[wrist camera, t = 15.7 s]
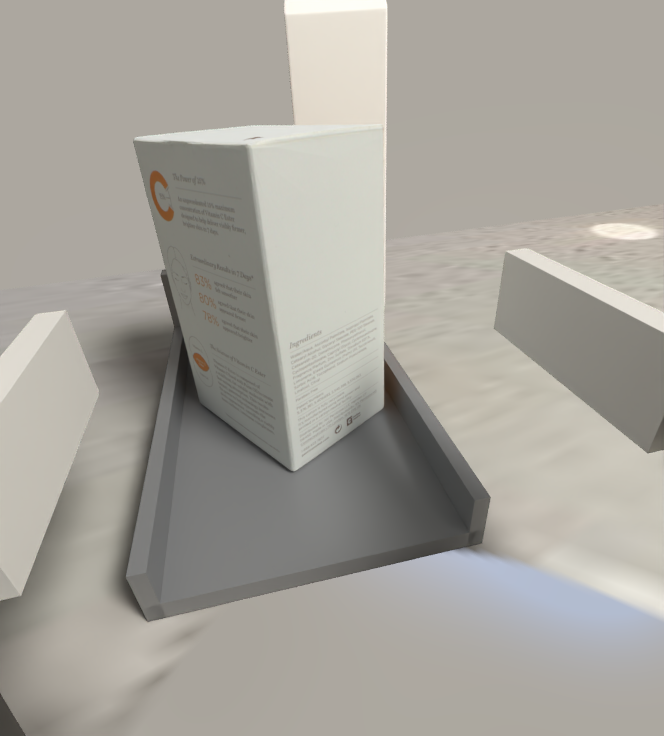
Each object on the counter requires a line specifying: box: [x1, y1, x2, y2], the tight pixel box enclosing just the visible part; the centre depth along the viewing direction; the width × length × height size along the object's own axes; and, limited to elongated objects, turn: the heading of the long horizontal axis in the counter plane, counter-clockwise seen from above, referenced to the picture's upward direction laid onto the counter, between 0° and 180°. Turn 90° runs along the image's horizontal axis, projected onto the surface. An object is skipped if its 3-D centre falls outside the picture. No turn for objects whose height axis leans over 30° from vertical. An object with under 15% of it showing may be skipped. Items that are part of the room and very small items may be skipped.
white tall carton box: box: [284, 0, 387, 308], centre depth 32 cm, size 6×6×22 cm
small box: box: [133, 124, 384, 472], centre depth 20 cm, size 8×6×13 cm
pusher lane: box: [126, 270, 491, 622], centre depth 22 cm, size 12×19×6 cm, turn 12°
